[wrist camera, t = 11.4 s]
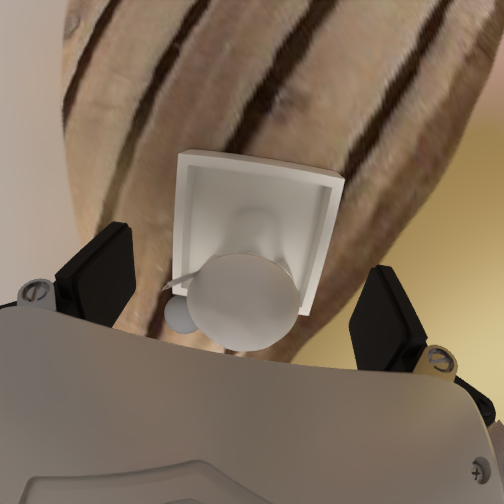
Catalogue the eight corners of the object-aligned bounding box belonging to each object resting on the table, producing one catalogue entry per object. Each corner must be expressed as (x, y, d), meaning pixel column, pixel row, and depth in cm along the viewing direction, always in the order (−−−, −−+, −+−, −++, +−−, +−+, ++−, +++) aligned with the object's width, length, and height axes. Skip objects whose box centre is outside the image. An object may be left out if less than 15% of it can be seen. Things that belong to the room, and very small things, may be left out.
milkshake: (242, 174, 17) (205, 238, 8) (305, 231, 19) (329, 338, 10) (196, 225, 19) (134, 321, 10) (257, 276, 20) (243, 394, 11)
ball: (171, 283, 22) (158, 305, 19) (209, 290, 22) (200, 314, 19) (171, 313, 23) (160, 337, 20) (207, 320, 23) (199, 345, 20)
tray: (190, 148, 17) (178, 153, 15) (336, 171, 17) (344, 179, 15) (182, 275, 21) (172, 293, 19) (305, 295, 21) (308, 315, 19)
